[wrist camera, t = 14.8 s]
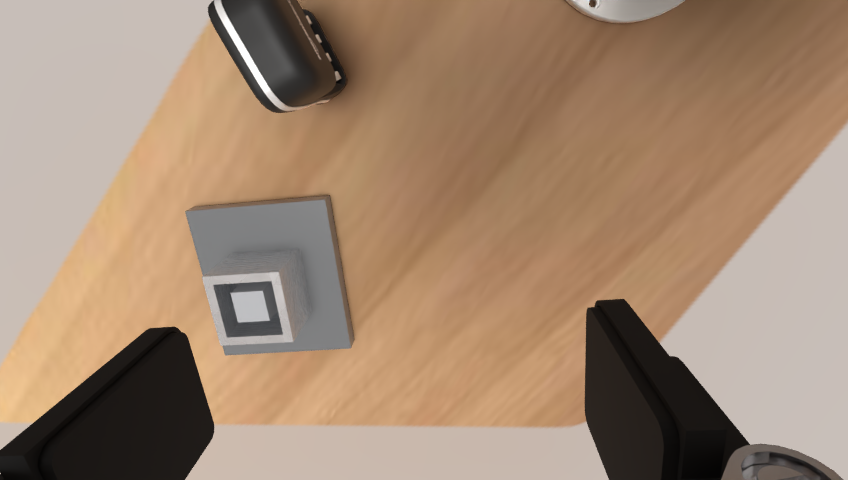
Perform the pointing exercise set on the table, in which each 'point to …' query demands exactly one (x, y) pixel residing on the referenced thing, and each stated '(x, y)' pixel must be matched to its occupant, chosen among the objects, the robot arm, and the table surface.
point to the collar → (259, 268)
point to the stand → (279, 230)
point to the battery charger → (279, 52)
